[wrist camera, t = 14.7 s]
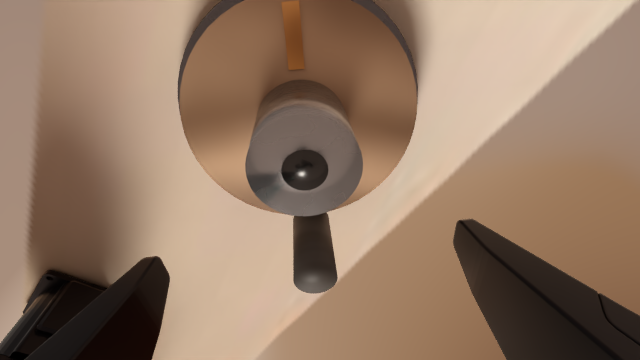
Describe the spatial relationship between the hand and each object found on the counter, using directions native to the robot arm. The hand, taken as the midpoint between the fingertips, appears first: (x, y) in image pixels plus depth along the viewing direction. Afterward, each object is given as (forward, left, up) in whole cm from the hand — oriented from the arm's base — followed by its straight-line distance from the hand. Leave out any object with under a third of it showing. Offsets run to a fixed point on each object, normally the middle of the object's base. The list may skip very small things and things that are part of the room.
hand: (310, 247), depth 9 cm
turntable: (-1, -1, -11) cm, 11 cm away
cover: (0, 0, -10) cm, 10 cm away
